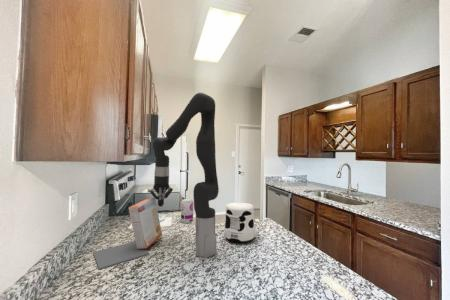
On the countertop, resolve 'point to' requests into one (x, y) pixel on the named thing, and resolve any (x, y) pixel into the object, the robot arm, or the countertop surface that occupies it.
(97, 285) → the countertop surface
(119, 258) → the mat
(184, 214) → the supplement can
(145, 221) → the cracker box
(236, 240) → the milk container
